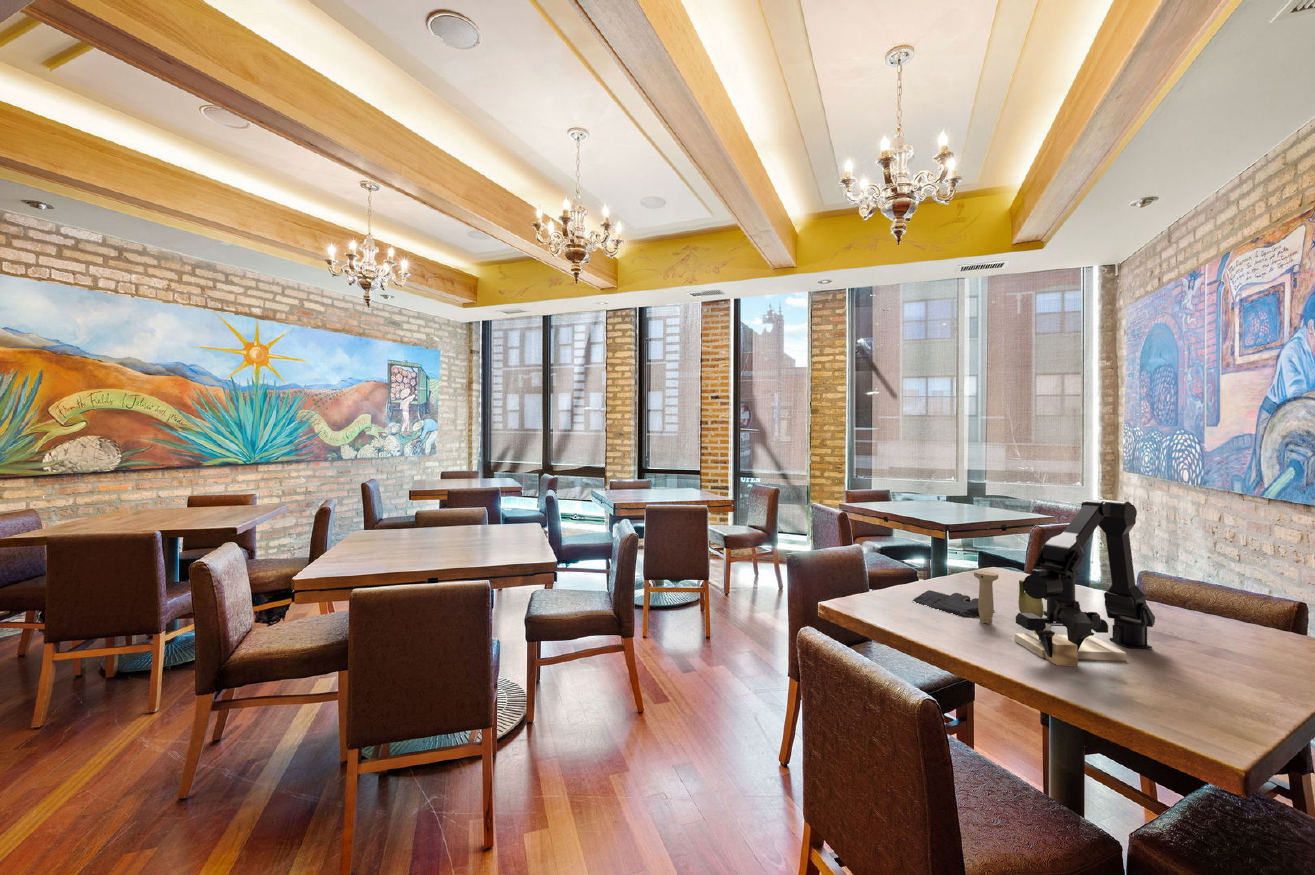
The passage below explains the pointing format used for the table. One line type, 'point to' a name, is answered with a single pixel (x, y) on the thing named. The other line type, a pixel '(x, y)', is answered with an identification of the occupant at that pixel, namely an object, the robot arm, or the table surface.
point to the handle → (986, 595)
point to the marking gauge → (1063, 652)
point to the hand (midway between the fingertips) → (1061, 657)
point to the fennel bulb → (1029, 602)
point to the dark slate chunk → (950, 603)
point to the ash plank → (1087, 650)
